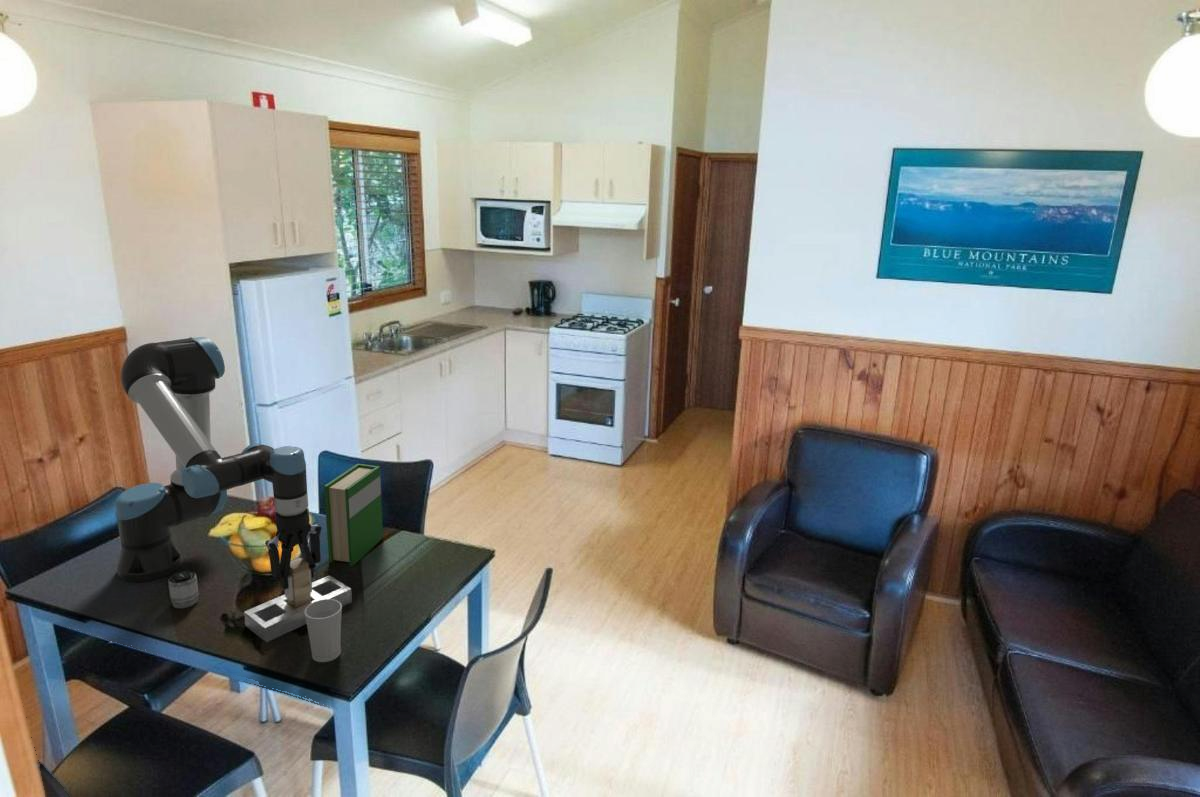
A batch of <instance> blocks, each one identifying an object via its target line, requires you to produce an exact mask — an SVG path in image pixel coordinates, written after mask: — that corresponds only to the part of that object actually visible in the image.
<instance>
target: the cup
mask: <svg viewBox="0 0 1200 797" xmlns="http://www.w3.org/2000/svg"><path fill="white" fill-rule="evenodd" d="M342 610H343V607H342V604H341V603H340V602H339V601H337V600H333V599H323V600H318V601H315V602H313V603H311V604H310V605H308V606H307V607H306V609H305V617H306V623H307V624H306V627H307V633H308V640H309V643H310V651H311V658H312V660H313V661H314V662H318V663H327V662H328V663H329V662H331V661H334V660H336V659H337V658H338V657H340V655H341V653H342V649H341V648H342V647H341V639H342V638H341V636H342V633H341V632H342V630H341V628H342V614H343V611H342Z"/></svg>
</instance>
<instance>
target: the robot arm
mask: <svg viewBox="0 0 1200 797" xmlns="http://www.w3.org/2000/svg"><path fill="white" fill-rule="evenodd" d="M225 367H226V366H225V360H224V357H223V354H222V352H221V350H220V349H219V346H217V345H216V343H215V342H214V341H213V340H211V339H210V338H208V337H205V336H199V337H192V336H191V337H188V338H181V339H173V340H166V341H160V342H148V343H145V344H142V345H140V346H138V347H136V348H135V349H134V350H132V351H131V352H130V353H129V354H128V355H127V356H126V358H125V360H124V362H123V364H122V366H121V371H120V380H121V385H122V388H123V391H124V392H125V394H126V395H127V396H128V399H129V400H130V401H132V402H133V403H134V404H139V405H140V407H141V409H143V411H144V412H145V415H147V416H148V418H149V420H150V421H151V422H152V424H153V426H155V428H156V429H157V430H158V432H159V433H160V435H161V436H162V437H163V440H164V441H165V443H167V445H168V446H169V447H170V449H171V451H173V453H174V455H175V468H176V469H175V470H174V471H173V472H172V473H171V474H170V484H168V485H164V484H162V483H160V482H159V483H158V482H149V483H142V484H138V485H135V486H132V487H130V488H128V489H126V490H124V491H122V492H121V493H120V494H119V495H118V497H117V498H116V499H115V501H114V502H115V504H114V505H115V518H116V521H117V526H118V528H117V529H118V533H119V540H120V545H121V548H120V549H121V550H120V554H119V556H118V561H117V566H116V570H117V572H116V573H117V577H118V578H119V579H120V580H122V581H125V582H131V583H141V582H143V583H145V582H149V581H153V580H158V579H161V578H164V577H167V576H168V575H170V574H172V573H174V572H175V571H177V570H179V568H180V567H181V566H182V564H183V559H182V558H183V557H182V554H181V551H180V550H179V547H177V545H176V543H175V541H174V540H173V538H172V534H171V528H175V527H176V526H180V525H183V524H185V523H189V522H192V521H195V520H198V519H201V518H206V517H209V516H211V515H213V514H215V513H218V512H221V510H222V509H223V508H224V507H225V505H226V503H227V499H228V491H229V490H231V489H234V488H238V487H240V486H241V487H242V486H244V485H249V484H251V483H255V482H256V481H261V480H265V481H267V482H270V483H271V484H272V492H273V493H272V494H273V504H274V512H275V513H274V515H275V526H276V533H275V537H274V538H272V539H271V540H269V539H268V540H266V541H265V542H264V544H265V546H266V548H267V549H268V556H269V566H270V573H271V576H273V577H274V578H275V579H277V580H280V587H281V588H282V589H283V590H284V594H285V597H286V598H287V599H289V600H290V601H292V600H294V596H293V584H292V576H290V575H289V569H290V562H291V561H292V560H291V559H292V553H293V552H294V548H295V546H297V545H298V547H299V551H300V553H301V558H302V559H303V560H304V561H306V562H308V564H309V578H310V592H312V582H313V581H312V579H314V577H315V573H314V572H315V571H314V570H315V568H316V567H317V565H316V564H317V563H318V564H319V563H321V561H322V560H321V541H320V540H321V539H320V535H321V533H322V532H321V531H322V527H321V526H320V525H318V523H317V524H316V523H313V524H311V523H310V519H311V518H310V510H309V498H308V497H309V496H308V480H307V479H308V478H307V462H306V459H305V452H304V450H303V449H302V448H301V447H299V446H293V445H286V446H280V447H276V448H274V447H272V446H269V445H268V444H266V445H265V444H262V443H252V444H249V445H248V446H247V447H245V448H244V449H243V450H242V451H241V452H240V453H237V454H233V455H230V456H224V457H221V455H220V454H219V453H218V451H217V450H216V449H215V447H214V445H213V444H212V443H211V442H212V440H211V417H210V416H211V411H210V410H211V406H210V405H211V404H210V403H211V402H210V394H211V392H213V391H214V390H215V389H216V379H218V380H219V379H220V378H222V377H223V376H224V374H225V371H226V368H225ZM308 536H309V540H310V544H309V541H308V539H307V537H308ZM279 542H280V544H281V547H280V548H281V553H279V549H278V548H279ZM309 545H310V547H309Z"/></svg>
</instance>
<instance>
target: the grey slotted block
mask: <svg viewBox="0 0 1200 797" xmlns="http://www.w3.org/2000/svg"><path fill="white" fill-rule="evenodd" d="M323 599H333V600H337V601H339V602H340V603H341V604H342V608H343V607H345V606H347V605H349V604H352V602H353V599H352V588H351V587H349V586H347V585H346V584H345V583H342V582H341V581H339V580H337V579H336V578H335V577H333V576H332V575H327V576H324V577H322V578H319V579H317V580H315V581H312V592H311V602H309V603H306V604H304V605H302V606H300V607H298V608H293V607H292V606H290V605H289V604H288V600H287V598H286V597H285V593H284V594H282V595H280V596H278V597H275V598H273V599H270V600H268V601H266V602H263V603H260V604H258V605H257V606H254V607H251V608H249V609H247V610H245V611H244V612H243V616H244V624H245V627H246V628H248V629H249V630H250V631H251V632H252V633H254V634H255V635H256V636H257V637H259V638H260V639H261V640H263V641H264V642H265V643H269V642H271V641H272V640H275V639H277V638H280V637H281V636H283V635H286V634H288V633H290V632H292V631H295V630H296V629H298V628H300V627H302V626H304V625H307V623H306V617H305V609H306V607H307V606H308V605H310V604H311V603H313V602H315V601H318V600H323Z"/></svg>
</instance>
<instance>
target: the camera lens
mask: <svg viewBox="0 0 1200 797" xmlns="http://www.w3.org/2000/svg"><path fill="white" fill-rule="evenodd" d="M167 583H168V590H169V599H170V601H171V602H170V603H171V605H172V607H174V608H175V609H185V608H186V609H187V608H190V607H193V606H194V605H195V604H197V602H198V600H199V587H198V578H197V573H196V572H194V571H189V570H184V571H178V572H176V573H174V574H172V575H171V576H170V577H169V578H168V580H167Z"/></svg>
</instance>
